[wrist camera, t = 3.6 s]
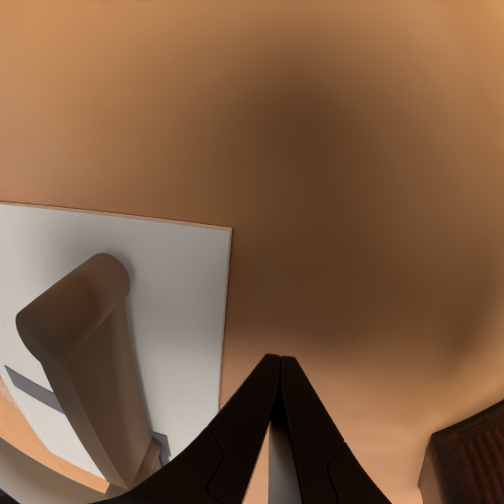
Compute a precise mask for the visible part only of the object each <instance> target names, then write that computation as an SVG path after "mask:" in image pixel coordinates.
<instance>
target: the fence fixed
mask: <svg viewBox="0 0 504 504" xmlns="http://www.w3.org/2000/svg"><path fill="white" fill-rule="evenodd" d="M151 437H152V436H151ZM161 449H162V444H161V443H160V442H159V441H158V440H157V439H156V438H154V437H152V440H151V442H150V444H149V446H148V449H147V451H146V453H145V456H144V458H143V460H142V463H141V465H140V467H139V470H138V472H137V474H136V477H135V479H134V481H133V484H132V486H131V488H130V490H131V489H133V488H134V487H136V486H137V485H139V484H140V483H142V482H143V481H144V480H146V479H147V478H148V477H150V476H151V475H153V474H154V473H155V472H157V471H158V470H159V469H161V468H162V467H161V464H160V460H159V457H158V456H159V454H160V451H161ZM128 491H129V490H127V489H124V488H122V487H119V486H117V485H114V484H112V483H110V485H109V487H108V489H107V491H106V493H105V495H104V497H105V498H106V499H110V498H114V497H117V496H119V495H121V494H124V493H126V492H128Z"/></svg>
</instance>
